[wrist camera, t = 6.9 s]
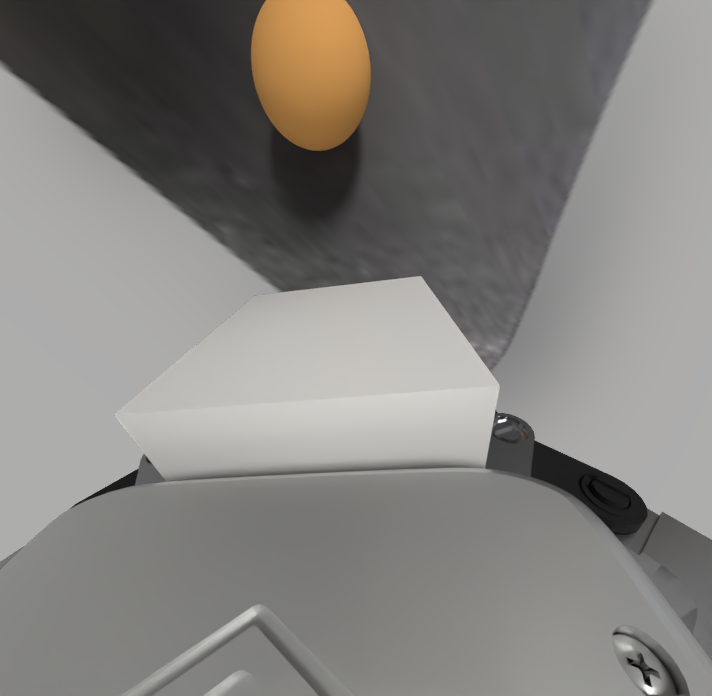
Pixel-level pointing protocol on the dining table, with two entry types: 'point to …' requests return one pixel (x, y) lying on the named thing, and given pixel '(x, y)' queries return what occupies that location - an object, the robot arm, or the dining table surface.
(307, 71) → the ball
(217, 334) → the white cube
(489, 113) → the dining table surface
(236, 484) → the robot arm
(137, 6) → the dining table surface
